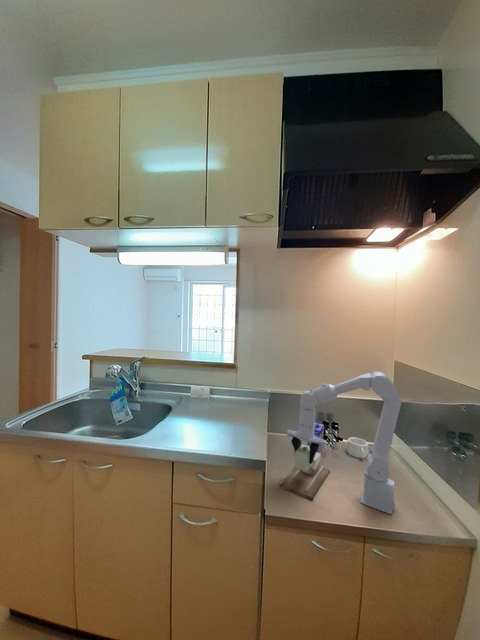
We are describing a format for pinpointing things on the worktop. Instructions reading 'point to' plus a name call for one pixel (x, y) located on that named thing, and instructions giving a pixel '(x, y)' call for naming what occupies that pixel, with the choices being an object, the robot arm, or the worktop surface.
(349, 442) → the mug
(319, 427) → the ink cartridge box
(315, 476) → the rail board
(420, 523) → the worktop surface
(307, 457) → the module
